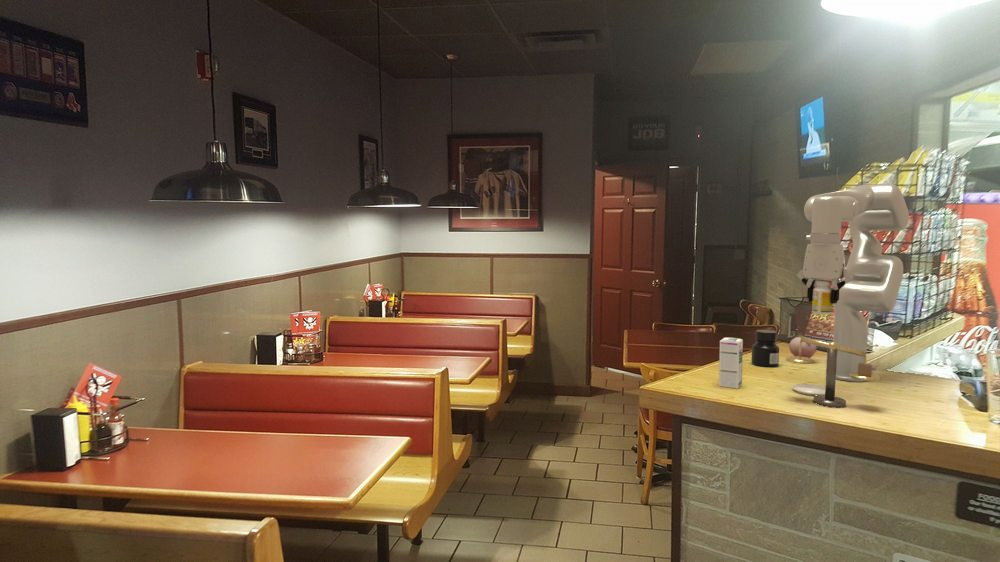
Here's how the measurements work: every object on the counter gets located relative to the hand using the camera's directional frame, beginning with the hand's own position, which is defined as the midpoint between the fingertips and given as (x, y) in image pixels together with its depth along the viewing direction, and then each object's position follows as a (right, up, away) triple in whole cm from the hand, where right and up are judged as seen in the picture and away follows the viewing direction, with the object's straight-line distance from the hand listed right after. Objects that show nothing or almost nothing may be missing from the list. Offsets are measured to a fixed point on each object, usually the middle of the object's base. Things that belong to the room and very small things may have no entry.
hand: (822, 301), depth 178 cm
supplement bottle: (0, -4, 0) cm, 4 cm away
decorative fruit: (+16, -23, +46) cm, 54 cm away
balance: (-3, -28, -8) cm, 29 cm away
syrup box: (-23, -26, +10) cm, 37 cm away
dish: (-1, -27, +4) cm, 27 cm away
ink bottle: (0, -24, +40) cm, 46 cm away
